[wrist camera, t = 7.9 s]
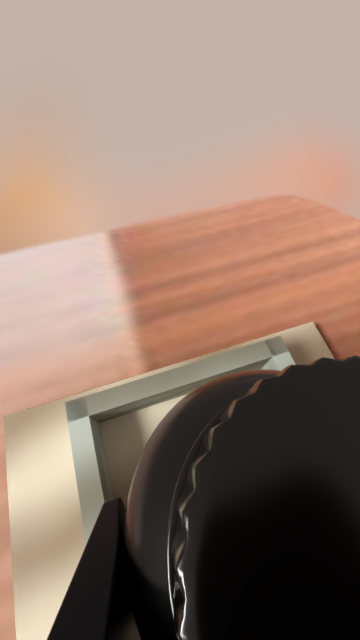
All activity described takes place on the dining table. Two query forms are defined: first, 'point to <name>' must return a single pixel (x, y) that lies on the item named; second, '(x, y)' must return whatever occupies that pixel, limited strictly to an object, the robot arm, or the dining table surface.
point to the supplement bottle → (251, 510)
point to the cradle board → (102, 461)
